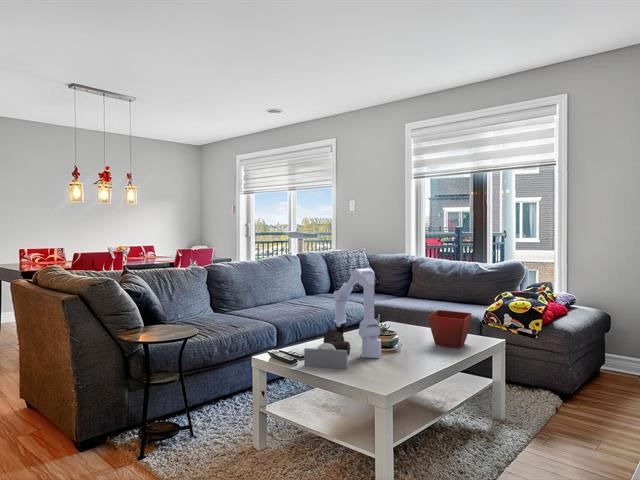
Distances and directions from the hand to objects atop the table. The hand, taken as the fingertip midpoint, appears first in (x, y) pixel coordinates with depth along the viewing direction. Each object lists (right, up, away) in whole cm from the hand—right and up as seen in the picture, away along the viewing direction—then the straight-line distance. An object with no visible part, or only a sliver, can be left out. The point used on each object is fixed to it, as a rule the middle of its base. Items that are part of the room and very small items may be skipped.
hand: (340, 337), depth 256 cm
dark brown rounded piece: (-3, -5, -15) cm, 16 cm away
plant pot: (+60, -4, -2) cm, 60 cm away
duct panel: (-9, -5, -40) cm, 42 cm away
